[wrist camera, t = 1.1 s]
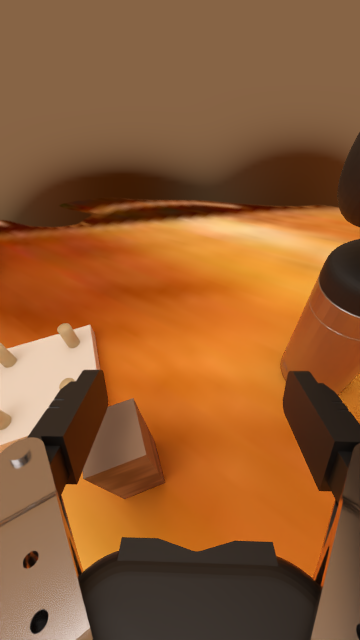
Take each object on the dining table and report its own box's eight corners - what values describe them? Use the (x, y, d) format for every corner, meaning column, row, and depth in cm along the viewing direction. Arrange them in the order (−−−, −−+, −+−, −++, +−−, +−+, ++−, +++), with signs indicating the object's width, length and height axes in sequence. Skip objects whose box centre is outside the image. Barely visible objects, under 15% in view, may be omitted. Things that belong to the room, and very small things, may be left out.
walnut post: (154, 441, 34) (133, 398, 24) (165, 482, 31) (146, 454, 21) (117, 455, 34) (78, 417, 23) (124, 499, 30) (83, 478, 20)
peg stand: (94, 333, 47) (81, 309, 42) (107, 416, 37) (92, 397, 32) (1, 360, 44) (-24, 338, 39) (-12, 458, 34) (-48, 445, 29)
